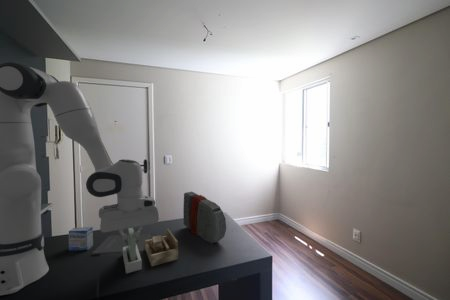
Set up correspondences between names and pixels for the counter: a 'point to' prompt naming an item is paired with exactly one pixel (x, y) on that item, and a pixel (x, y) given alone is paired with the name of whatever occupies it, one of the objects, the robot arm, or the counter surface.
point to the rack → (169, 250)
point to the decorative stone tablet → (203, 217)
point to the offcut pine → (157, 241)
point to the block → (131, 245)
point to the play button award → (119, 244)
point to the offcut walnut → (157, 249)
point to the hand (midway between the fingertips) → (131, 238)
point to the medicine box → (80, 238)
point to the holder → (134, 264)
